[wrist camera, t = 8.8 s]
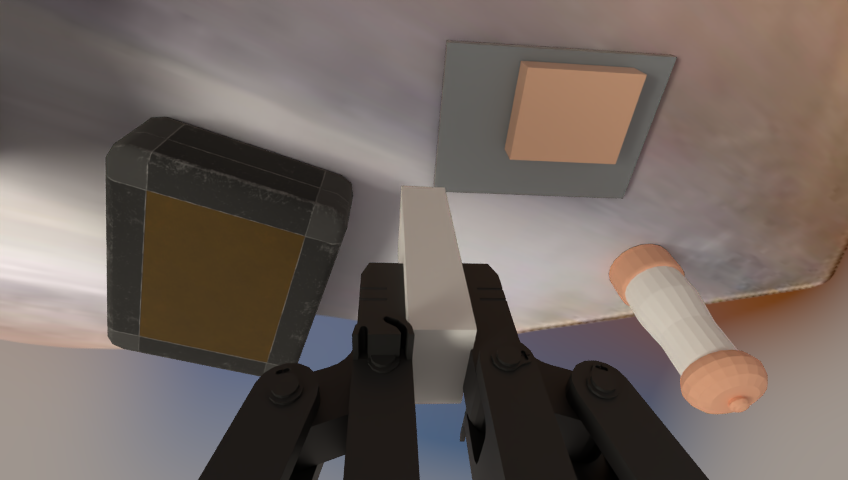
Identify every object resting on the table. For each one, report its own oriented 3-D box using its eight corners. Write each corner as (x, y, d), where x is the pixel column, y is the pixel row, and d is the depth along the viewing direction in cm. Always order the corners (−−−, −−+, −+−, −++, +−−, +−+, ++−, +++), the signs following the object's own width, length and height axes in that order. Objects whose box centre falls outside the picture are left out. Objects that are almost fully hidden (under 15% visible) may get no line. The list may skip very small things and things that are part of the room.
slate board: (433, 186, 44) (434, 191, 43) (446, 40, 36) (447, 42, 35) (618, 193, 46) (622, 198, 45) (670, 54, 38) (676, 57, 37)
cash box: (142, 105, 38) (91, 137, 32) (358, 178, 43) (351, 218, 37) (135, 298, 51) (98, 347, 45) (302, 336, 56) (290, 386, 50)
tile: (509, 159, 39) (615, 164, 39) (527, 67, 34) (646, 74, 35) (504, 148, 41) (604, 152, 42) (520, 59, 36) (632, 67, 37)
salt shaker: (600, 289, 54) (683, 433, 38) (621, 242, 49) (723, 382, 34) (655, 291, 54) (759, 433, 38) (680, 245, 50) (807, 383, 34)
